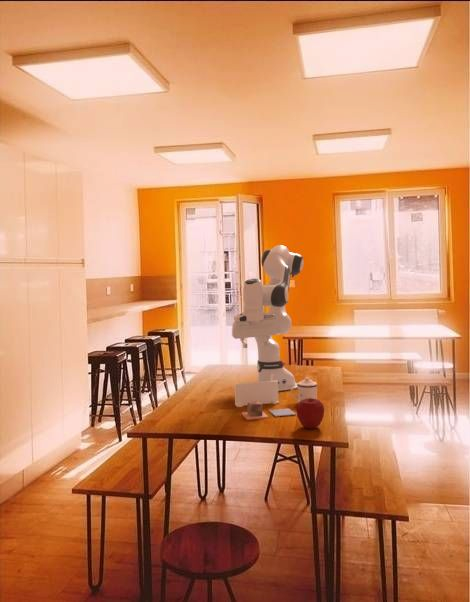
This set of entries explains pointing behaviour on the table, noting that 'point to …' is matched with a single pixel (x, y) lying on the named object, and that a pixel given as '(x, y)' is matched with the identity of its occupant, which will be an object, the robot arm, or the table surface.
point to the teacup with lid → (306, 390)
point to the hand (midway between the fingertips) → (255, 346)
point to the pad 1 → (254, 416)
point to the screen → (256, 392)
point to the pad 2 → (282, 412)
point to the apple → (310, 412)
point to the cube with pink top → (254, 408)
